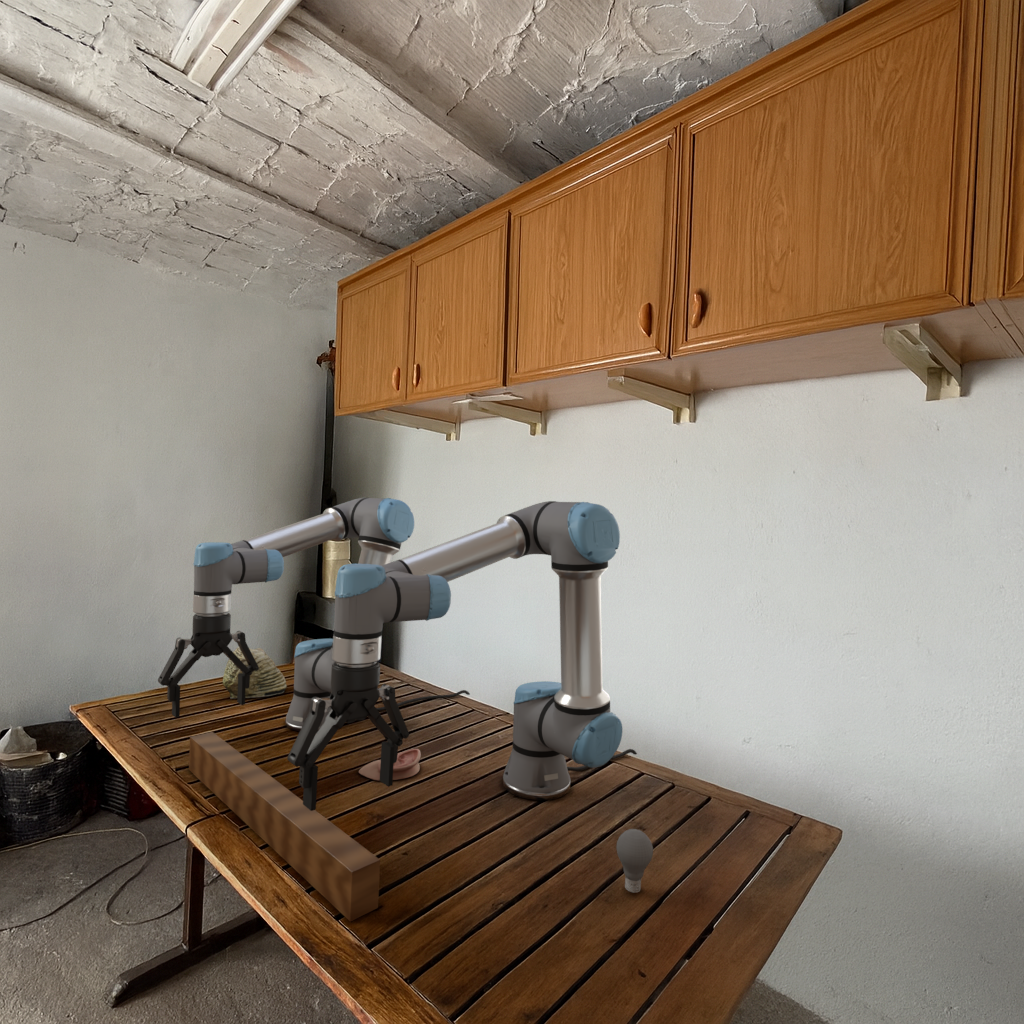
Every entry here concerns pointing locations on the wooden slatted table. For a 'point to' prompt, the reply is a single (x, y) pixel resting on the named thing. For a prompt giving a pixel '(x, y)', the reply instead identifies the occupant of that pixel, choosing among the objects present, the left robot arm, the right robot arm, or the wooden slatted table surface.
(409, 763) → the anatomical model
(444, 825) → the wooden slatted table surface
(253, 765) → the bar
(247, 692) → the fossil
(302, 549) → the left robot arm
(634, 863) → the light bulb
